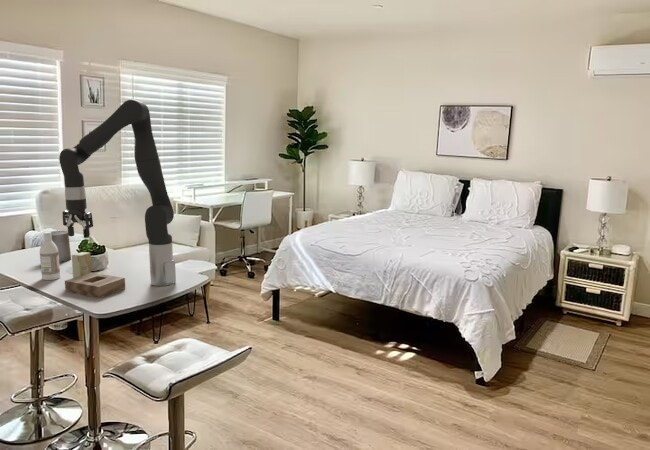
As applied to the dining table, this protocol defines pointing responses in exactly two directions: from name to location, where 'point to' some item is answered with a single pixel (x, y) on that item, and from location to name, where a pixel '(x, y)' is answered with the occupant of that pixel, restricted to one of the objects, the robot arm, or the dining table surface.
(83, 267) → the skincare box
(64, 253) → the pillar candle
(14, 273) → the dining table surface
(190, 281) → the dining table surface
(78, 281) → the walnut holder block
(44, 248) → the bath foam
